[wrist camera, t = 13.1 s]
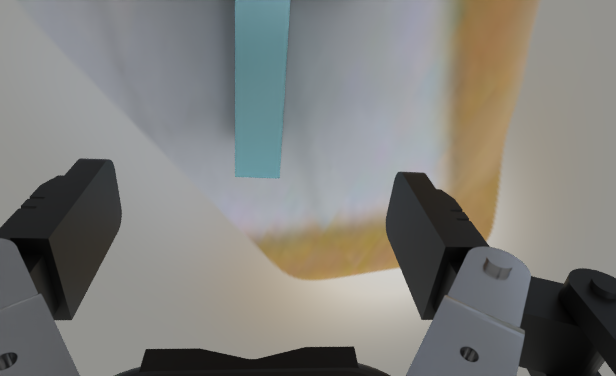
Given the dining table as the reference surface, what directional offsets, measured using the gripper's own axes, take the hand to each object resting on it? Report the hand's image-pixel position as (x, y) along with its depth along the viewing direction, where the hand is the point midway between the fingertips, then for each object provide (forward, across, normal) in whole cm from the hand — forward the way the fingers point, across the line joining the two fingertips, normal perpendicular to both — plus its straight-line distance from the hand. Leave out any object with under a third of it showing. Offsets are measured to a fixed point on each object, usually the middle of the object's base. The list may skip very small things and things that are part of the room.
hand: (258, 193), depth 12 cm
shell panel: (+16, 0, -2) cm, 16 cm away
